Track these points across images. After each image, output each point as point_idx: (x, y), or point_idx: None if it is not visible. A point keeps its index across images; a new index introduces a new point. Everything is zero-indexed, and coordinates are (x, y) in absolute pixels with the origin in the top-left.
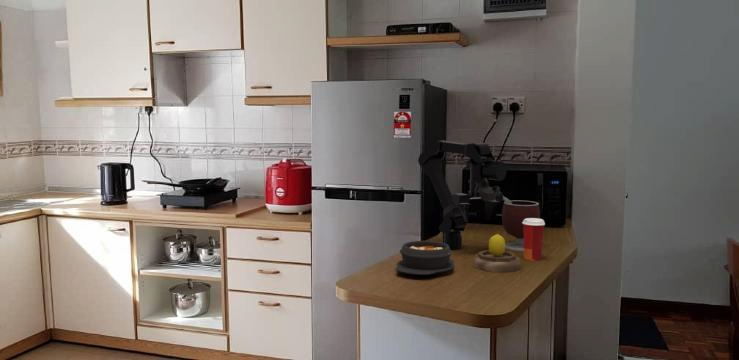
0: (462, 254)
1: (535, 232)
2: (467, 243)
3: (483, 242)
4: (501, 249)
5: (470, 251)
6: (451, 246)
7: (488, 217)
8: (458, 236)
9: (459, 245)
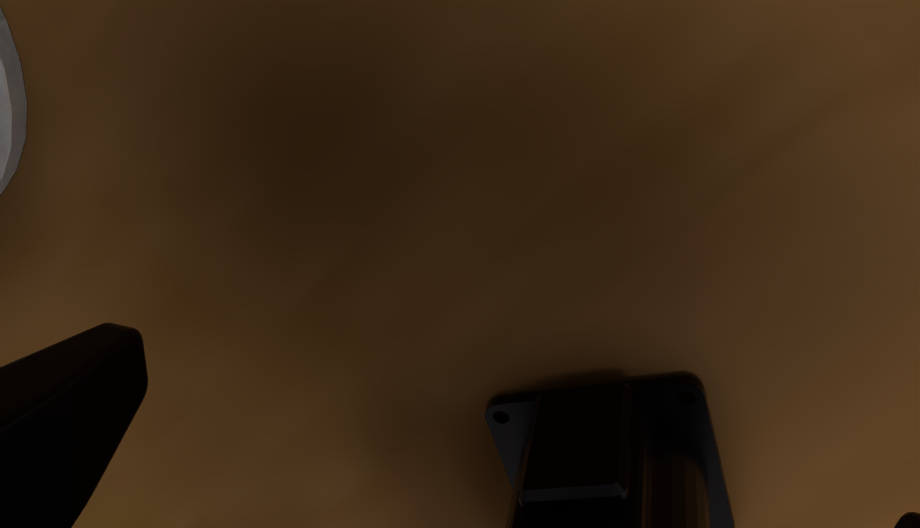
0: (798, 164)
1: None
2: (308, 479)
3: None
4: None
5: (553, 225)
6: (680, 444)
7: (87, 375)
8: (584, 509)
9: (590, 402)
